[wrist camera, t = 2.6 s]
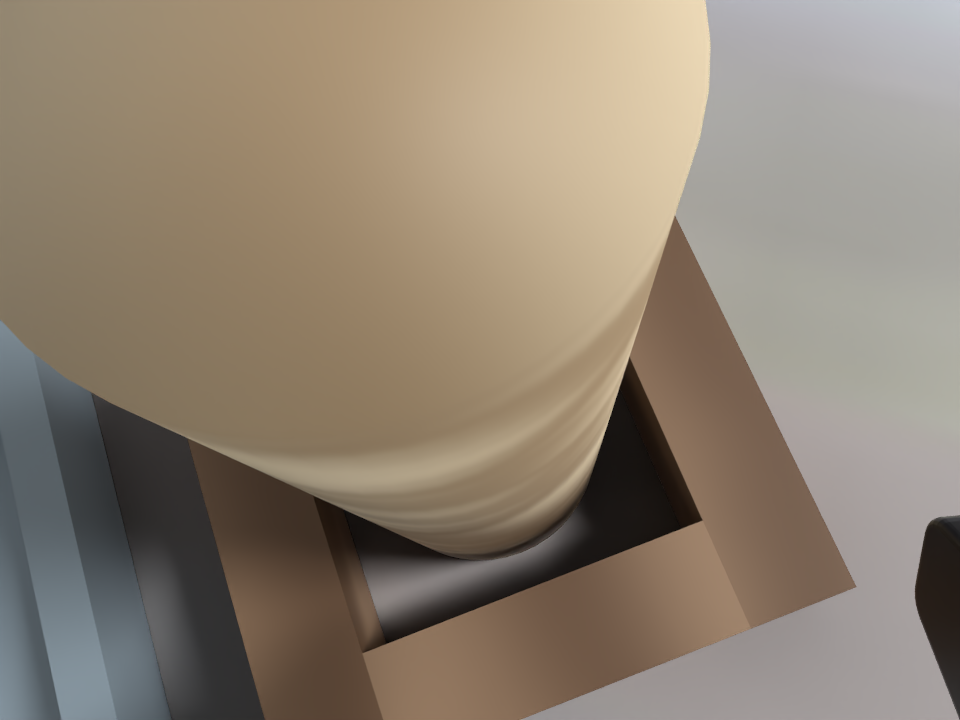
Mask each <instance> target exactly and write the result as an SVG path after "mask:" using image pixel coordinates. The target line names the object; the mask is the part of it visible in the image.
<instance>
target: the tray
mask: <svg viewBox="0 0 960 720" xmlns="http://www.w3.org/2000/svg"><path fill="white" fill-rule="evenodd" d="M0 720H172V719H171V715H170V711H169V707H168V703H167V699H166V695H165V691H164V687H163V683H162V678H161V674H160V670H159V666H158V662H157V658H156V654H155V650H154V646H153V642H152V638H151V634H150V630H149V626H148V622H147V618H146V613H145V609H144V605H143V601H142V597H141V593H140V589H139V585H138V581H137V577H136V573H135V569H134V565H133V561H132V557H131V552H130V548H129V544H128V540H127V536H126V532H125V528H124V524H123V520H122V516H121V512H120V508H119V504H118V500H117V496H116V492H115V487H114V483H113V479H112V475H111V471H110V467H109V463H108V459H107V455H106V451H105V447H104V443H103V439H102V435H101V431H100V426H99V422H98V418H97V414H96V410H95V406H94V402H93V398H92V394H91V392H90V391H88V390H86V389H85V388H83V387H81V386H79V385H77V384H76V383H74V382H72V381H70V380H68V379H67V378H65V377H64V376H63V375H61V374H60V373H59V372H57V371H56V370H55V369H54V368H52V367H51V366H50V365H48V364H47V363H46V362H45V361H43V360H42V359H41V358H39V357H38V356H37V355H36V354H34V353H33V352H32V351H30V350H29V349H28V348H27V347H26V346H25V345H24V344H23V343H22V342H21V341H20V340H19V339H18V338H17V337H16V336H15V335H14V334H13V332H12V331H11V330H10V329H9V328H8V327H7V326H6V325H5V324H4V323H3V322H2V321H1V320H0Z"/></svg>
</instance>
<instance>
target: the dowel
mask: <svg viewBox="0 0 960 720" xmlns="http://www.w3.org/2000/svg"><path fill="white" fill-rule="evenodd" d="M709 71H710V35H709V27H708V19H707V11H706V2H705V0H0V320H1V321H2V322H3V323H4V324H5V325H6V326H7V327H8V328H9V329H10V330H11V331H12V332H13V334H14V335H15V336H16V337H17V338H18V339H19V340H20V341H21V342H22V343H23V344H24V345H25V346H26V347H27V348H28V349H29V350H30V351H32V352H33V353H34V354H36V355H37V356H38V357H39V358H41V359H42V360H43V361H45V362H46V363H47V364H48V365H50V366H51V367H52V368H54V369H55V370H56V371H57V372H59V373H60V374H61V375H63V376H64V377H65V378H67V379H68V380H70V381H72V382H74V383H76V384H77V385H79V386H81V387H83V388H85V389H86V390H88V391H90V392H92V393H93V394H95V395H97V396H99V397H101V398H102V399H104V400H106V401H108V402H109V403H111V404H114V405H116V406H118V407H120V408H122V409H125V410H127V411H129V412H131V413H133V414H136V415H138V416H140V417H142V418H144V419H147V420H149V421H151V422H153V423H155V424H158V425H160V426H162V427H164V428H166V429H169V430H171V431H173V432H175V433H177V434H180V435H182V436H184V437H186V438H188V439H191V440H193V441H195V442H197V443H199V444H201V445H204V446H206V447H208V448H210V449H212V450H215V451H217V452H219V453H221V454H223V455H226V456H228V457H230V458H232V459H234V460H237V461H239V462H241V463H243V464H245V465H248V466H250V467H252V468H254V469H256V470H259V471H261V472H263V473H265V474H267V475H270V476H272V477H274V478H276V479H278V480H281V481H283V482H285V483H287V484H289V485H291V486H294V487H296V488H298V489H300V490H302V491H305V492H307V493H309V494H311V495H313V496H316V497H318V498H320V499H322V500H324V501H327V502H329V503H331V504H333V505H335V506H338V507H340V508H342V509H344V510H346V511H349V512H351V513H353V514H355V515H357V516H360V517H362V518H364V519H366V520H368V521H371V522H373V523H375V524H377V525H379V526H382V527H384V528H386V529H388V530H390V531H392V532H395V533H397V534H399V535H401V536H403V537H406V538H408V539H410V540H412V541H414V542H417V543H419V544H421V545H423V546H425V547H428V548H430V549H432V550H435V551H437V552H440V553H442V554H445V555H448V556H452V557H457V558H461V559H471V560H492V559H498V558H504V557H508V556H511V555H515V554H518V553H521V552H523V551H526V550H528V549H530V548H532V547H534V546H536V545H538V544H539V543H541V542H542V541H544V540H545V539H547V538H549V537H550V536H551V535H552V534H553V533H554V532H556V531H557V530H558V529H559V528H560V527H561V526H562V525H563V524H564V523H565V522H566V521H567V520H568V518H569V517H570V516H571V515H572V513H573V512H574V510H575V509H576V508H577V506H578V505H579V503H580V501H581V499H582V497H583V495H584V493H585V491H586V489H587V486H588V483H589V480H590V477H591V474H592V471H593V468H594V465H595V462H596V459H597V456H598V453H599V450H600V446H601V443H602V440H603V437H604V434H605V431H606V428H607V425H608V422H609V418H610V415H611V412H612V409H613V406H614V403H615V400H616V397H617V394H618V391H619V387H620V384H621V381H622V378H623V375H624V372H625V369H626V366H627V363H628V359H629V356H630V353H631V350H632V347H633V344H634V341H635V338H636V335H637V332H638V328H639V325H640V322H641V319H642V316H643V313H644V310H645V307H646V304H647V300H648V297H649V294H650V291H651V288H652V285H653V282H654V279H655V276H656V272H657V269H658V266H659V263H660V260H661V257H662V254H663V251H664V248H665V245H666V241H667V238H668V235H669V232H670V229H671V226H672V223H673V220H674V217H675V213H676V210H677V207H678V204H679V201H680V198H681V195H682V192H683V189H684V186H685V182H686V179H687V176H688V173H689V170H690V167H691V164H692V161H693V158H694V154H695V151H696V148H697V145H698V142H699V139H700V134H701V129H702V124H703V118H704V113H705V108H706V102H707V97H708V92H709Z"/></svg>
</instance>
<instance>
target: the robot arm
mask: <svg viewBox="0 0 960 720" xmlns="http://www.w3.org/2000/svg"><path fill="white" fill-rule="evenodd" d="M915 600H916V606H917V610H918V614H919V617H920V620H921V622H922V625H923V627H924V630H925V632H926V635H927V638H928V640H929V643H930V645H931V648H932V650H933V653H934V655H935V658H936V661H937V663H938V666H939V668H940V671H941V673H942V676H943V678H944V681H945V683H946V686H947V689H948V691H949V694H950V696H951V699H952V701H953V704H954V706H955V709H956V712H957V714H958V717H959V719H960V515H959V516H947V517H938V518H936V519H934V520H932V521H931V522H930V523H929V525H928V526H927V528H926V532H925V536H924V541H923V547H922V552H921V557H920V563H919V568H918V574H917V579H916V585H915Z"/></svg>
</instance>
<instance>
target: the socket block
mask: <svg viewBox="0 0 960 720" xmlns="http://www.w3.org/2000/svg"><path fill="white" fill-rule="evenodd" d="M619 388H620V390H621V392H622V395H623V397H624V399H625V402H626V404H627V406H628V408H629V411H630V413H631V415H632V418H633V420H634V422H635V424H636V427H637V429H638V431H639V434H640V436H641V438H642V440H643V443H644V445H645V447H646V450H647V452H648V454H649V456H650V459H651V461H652V463H653V466H654V468H655V470H656V472H657V475H658V477H659V479H660V481H661V484H662V486H663V488H664V491H665V493H666V495H667V497H668V500H669V502H670V504H671V507H672V509H673V511H674V513H675V516H676V518H677V520H678V523H679V525H680V527H681V529H680V530H677V531H675V532H672V533H670V534H667V535H664V536H662V537H659V538H657V539H654V540H652V541H649V542H646V543H644V544H641V545H639V546H636V547H634V548H631V549H629V550H626V551H623V552H621V553H618V554H616V555H613V556H611V557H608V558H605V559H603V560H600V561H598V562H595V563H593V564H590V565H588V566H585V567H582V568H580V569H577V570H575V571H572V572H570V573H567V574H565V575H562V576H559V577H557V578H554V579H552V580H549V581H547V582H544V583H541V584H539V585H536V586H534V587H531V588H529V589H526V590H524V591H521V592H518V593H516V594H513V595H511V596H508V597H506V598H503V599H501V600H498V601H495V602H493V603H490V604H488V605H485V606H483V607H480V608H477V609H475V610H472V611H470V612H467V613H465V614H462V615H460V616H457V617H454V618H452V619H449V620H447V621H444V622H442V623H439V624H436V625H434V626H431V627H429V628H426V629H424V630H421V631H419V632H416V633H413V634H411V635H408V636H406V637H403V638H401V639H398V640H396V641H393V642H390V643H388V644H387V643H386V640H385V637H384V634H383V631H382V628H381V625H380V622H379V619H378V616H377V613H376V609H375V606H374V603H373V600H372V597H371V594H370V591H369V588H368V585H367V582H366V579H365V575H364V572H363V569H362V566H361V563H360V560H359V557H358V554H357V551H356V548H355V545H354V541H353V538H352V535H351V532H350V529H349V526H348V523H347V520H346V517H345V514H344V511H343V509H342V508H340V507H338V506H335V505H333V504H331V503H329V502H327V501H324V500H322V499H320V498H318V497H316V496H313V495H311V494H309V493H307V492H305V491H302V490H300V489H298V488H296V487H294V486H291V485H289V484H287V483H285V482H283V481H281V480H278V479H276V478H274V477H272V476H270V475H267V474H265V473H263V472H261V471H259V470H256V469H254V468H252V467H250V466H248V465H245V464H243V463H241V462H239V461H237V460H234V459H232V458H230V457H228V456H226V455H223V454H221V453H219V452H217V451H215V450H212V449H210V448H208V447H206V446H204V445H201V444H199V443H197V442H195V441H193V440H191V439H188V438H187V440H188V443H189V447H190V451H191V454H192V458H193V461H194V465H195V469H196V472H197V476H198V480H199V483H200V487H201V490H202V494H203V498H204V501H205V505H206V509H207V512H208V516H209V519H210V523H211V527H212V530H213V534H214V538H215V541H216V545H217V548H218V552H219V556H220V559H221V563H222V566H223V570H224V574H225V577H226V581H227V585H228V588H229V592H230V595H231V599H232V603H233V606H234V610H235V614H236V617H237V621H238V624H239V628H240V632H241V635H242V639H243V643H244V646H245V650H246V653H247V657H248V661H249V664H250V668H251V672H252V675H253V679H254V682H255V686H256V690H257V693H258V697H259V700H260V704H261V708H262V711H263V715H264V719H265V720H520V719H523V718H526V717H528V716H531V715H533V714H536V713H538V712H541V711H543V710H546V709H548V708H551V707H553V706H556V705H558V704H561V703H564V702H566V701H569V700H571V699H574V698H576V697H579V696H581V695H584V694H586V693H589V692H591V691H594V690H596V689H599V688H602V687H604V686H607V685H609V684H612V683H614V682H617V681H619V680H622V679H624V678H627V677H629V676H632V675H635V674H637V673H640V672H642V671H645V670H647V669H650V668H652V667H655V666H657V665H660V664H662V663H665V662H667V661H670V660H673V659H675V658H678V657H680V656H683V655H685V654H688V653H690V652H693V651H695V650H698V649H700V648H703V647H705V646H708V645H711V644H713V643H716V642H718V641H721V640H723V639H726V638H728V637H731V636H733V635H736V634H738V633H741V632H743V631H746V630H749V629H751V628H754V627H756V626H759V625H761V624H764V623H766V622H769V621H771V620H774V619H776V618H779V617H782V616H784V615H787V614H789V613H792V612H794V611H797V610H799V609H802V608H804V607H807V606H809V605H812V604H814V603H817V602H820V601H822V600H825V599H827V598H830V597H832V596H835V595H837V594H840V593H842V592H845V591H847V590H850V589H852V588H855V587H856V585H855V583H854V581H853V579H852V577H851V575H850V573H849V571H848V569H847V567H846V565H845V563H844V561H843V559H842V557H841V555H840V553H839V550H838V548H837V546H836V544H835V542H834V540H833V538H832V536H831V534H830V532H829V530H828V528H827V526H826V524H825V522H824V520H823V518H822V516H821V514H820V512H819V510H818V507H817V505H816V503H815V501H814V499H813V497H812V495H811V493H810V491H809V489H808V487H807V485H806V483H805V481H804V479H803V477H802V475H801V473H800V471H799V469H798V467H797V464H796V462H795V460H794V458H793V456H792V454H791V452H790V450H789V448H788V446H787V444H786V442H785V440H784V438H783V436H782V434H781V432H780V430H779V428H778V426H777V424H776V422H775V419H774V417H773V415H772V413H771V411H770V409H769V407H768V405H767V403H766V401H765V399H764V397H763V395H762V393H761V391H760V389H759V387H758V385H757V383H756V381H755V379H754V376H753V374H752V372H751V370H750V368H749V366H748V364H747V362H746V360H745V358H744V356H743V354H742V352H741V350H740V348H739V346H738V344H737V342H736V340H735V338H734V336H733V333H732V331H731V329H730V327H729V325H728V323H727V321H726V319H725V317H724V315H723V313H722V311H721V309H720V307H719V305H718V303H717V301H716V299H715V297H714V295H713V293H712V290H711V288H710V286H709V284H708V282H707V280H706V278H705V276H704V274H703V272H702V270H701V268H700V266H699V264H698V262H697V260H696V258H695V256H694V254H693V252H692V250H691V247H690V245H689V243H688V241H687V239H686V237H685V235H684V233H683V231H682V229H681V227H680V225H679V223H678V221H677V219H676V217H674V220H673V223H672V226H671V229H670V232H669V235H668V238H667V241H666V245H665V248H664V251H663V254H662V257H661V260H660V263H659V266H658V269H657V272H656V276H655V279H654V282H653V285H652V288H651V291H650V294H649V297H648V300H647V304H646V307H645V310H644V313H643V316H642V319H641V322H640V325H639V328H638V332H637V335H636V338H635V341H634V344H633V347H632V350H631V353H630V356H629V359H628V363H627V366H626V369H625V372H624V375H623V378H622V381H621V384H620V387H619Z"/></svg>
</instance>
